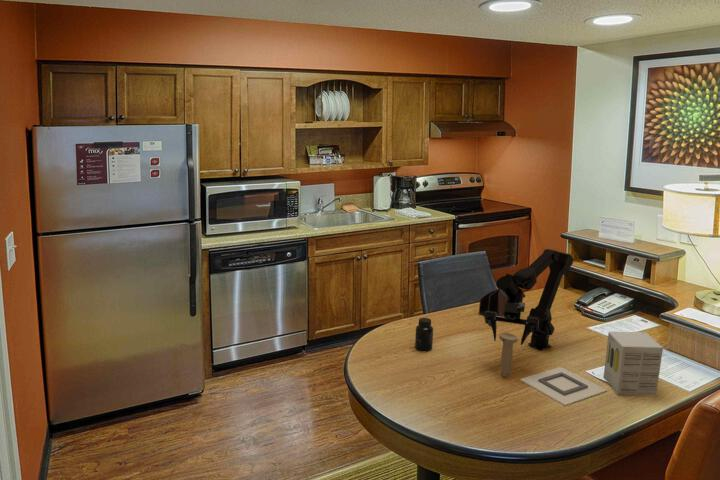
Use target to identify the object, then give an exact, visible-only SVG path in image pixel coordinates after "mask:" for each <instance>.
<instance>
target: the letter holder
mask: <svg viewBox="0 0 720 480" xmlns="http://www.w3.org/2000/svg"><path fill="white" fill-rule="evenodd" d="M518 288H519V287H518ZM506 300H507V297H506V296H504V295H503V293H502V292H501V291H500V290H499V289H498V288H497V289H494V290H492V291H489V292H488V293H486V294H484V295H483V296H482V297H481V298H480V300H479V308H478V316H481V315H482V317H484V315H485V312H486V311H492V312H496V313H497V316H503V317H504V315H503V311H504V306H505V303H506Z"/></svg>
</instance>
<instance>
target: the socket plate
mask: <svg viewBox="0 0 720 480" xmlns="http://www.w3.org/2000/svg"><path fill="white" fill-rule="evenodd" d="M519 381H520V382H522V383H524V384H526V385H527V386H529V387H531V388H532V389H534V390H536V391H538V392H539V393H541V394H543V395H545V396H547V397H548V398H550V399H552V400H554V402H557V403H558V404H560V403H561V404H560V405H562V404H563V405H562V406H564V405H565V406H564V407H566V405H567V406H569V405H568V404H570V405H572V404H571V403H573V404H575V403H574V402H576V403H578V402H577V401H579V402H581V401H584V400H586V398H587V399H589V398H588V397H590V398H592V397H591V396H593V397H595V396H594V395H596V396H598V395H597V394H599V393H602V394H604V393H603V392H605V391H607V392H608V390H607V389H606V388H604V387H601V386H600V385H598V384H595V383H593V382H591V381H590V380H587V379H586V378H583V377H582V376H579V375H577V374H575V373H574V372H571V371H570V370H567V369H565V368H563V367H561V366H559V367H555V368H552V369H549V370H546V371H543V372H539V373H535V374H532V375H529V376H526V377H522V378H520V379H519ZM605 393H606V392H605ZM599 395H600V394H599ZM583 399H584V400H583ZM580 400H581V401H580Z"/></svg>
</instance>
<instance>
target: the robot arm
mask: <svg viewBox="0 0 720 480" xmlns="http://www.w3.org/2000/svg"><path fill="white" fill-rule="evenodd" d="M573 263H574V258H573V256H572V254H571V253H566V252H562V251H558V250H555V249H550V248H546V249H544V250H543V252H542V254H540V255H539V256H538V257H537V258H536V259H535V260H534V261H533V262H532V263H530V265H528V266H527V267H524V268H521V269H519V270H517V271H516V272H515V273H514V274H510V273H506V274H505V275H504V276H501V277H500V278H499V279H497V280H496V283H495V284H496V285H495V286H496V288H497V289H499V290H500V291H501V292H502V293H503V295H504V296H506V297H507V300H506V303H505V306H504V311H503V315H504V317H503V316H497V313H496V312H492V311H486V312H485V315H484V316H483V318H484V324H486V325H488V326H489V327H491V331H492V334H493V342H496V340H497V328H498V326H497V322H500V323H501V322H502V323H509V324H515V325H522V326H524V328H523V333H522V335H521V341H520V346H523V344H524V342H525V341H526V339H527V338H528V336H529V335H530V334H531V336H530V342H528V343H527V345H528V346H530V347H533V348H535V349H537V350H538V351H542V350H545V349H550V348H551V347H552V345H551V344H549V340H550V336H553V334H554V332H555V327H554V325H553V323H552V320H553V316H552V312H551V309H552V306H553V303H554V300H555V297H556V295H557V292H558V289H559V287H560V284H561V280H562V278H563V276H564V275H565V274H567V273H569V271H570V270H571V267H572V266H573ZM547 268H548V269H549V273H548V276H547V279H546V281H545V285H544V288H543V289H542V290H543V291H542V293H541V296H540V299H539V301H538V304H537V305H536V307H532V308H530V312H529V314H528V315H527V316H526V319H523V318H521V315H522V313H524V312H525V309H526V307H525V306H526V303H525V302H524V301H523V300H524V298H526V294H525V293H524V291H523V289H524V290H527V291H531V290H532V289H533V287H534V286H535V285H536V284H537V281H538V277H539V276H540V275H541V274H542V273H543V272H544V271H546V270H547ZM518 287H519V288H518Z"/></svg>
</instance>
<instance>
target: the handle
mask: <svg viewBox="0 0 720 480" xmlns="http://www.w3.org/2000/svg"><path fill="white" fill-rule="evenodd" d="M498 337H499V340H500V341H501V342H502V351H501V357H500V375H501V376H502V377H503V378H509V377H511V375H512V373H511V372H512V369H513V362H514V361H513V357H514V355H513V351H514V350H513V348H514V347H513V346H514V344H515V343H517V342H518V339H519V338H518V337H517V336H516V335H515V334H512V333H508V332H502V333H499V335H498Z"/></svg>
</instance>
